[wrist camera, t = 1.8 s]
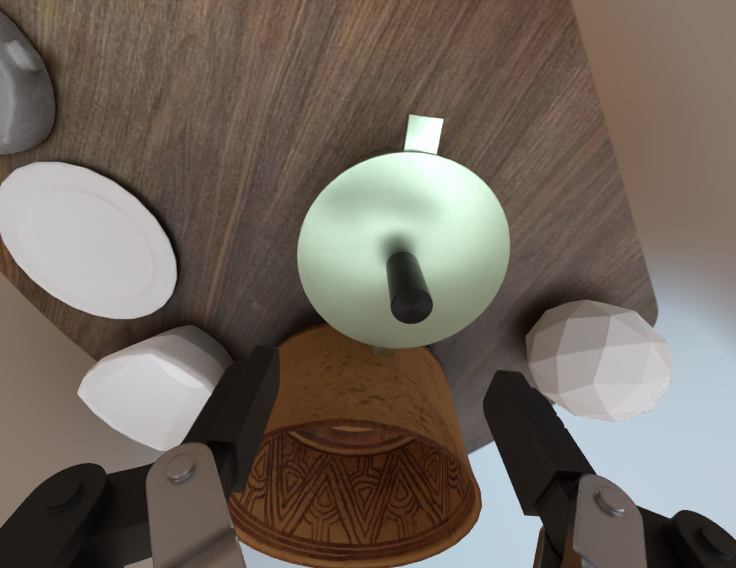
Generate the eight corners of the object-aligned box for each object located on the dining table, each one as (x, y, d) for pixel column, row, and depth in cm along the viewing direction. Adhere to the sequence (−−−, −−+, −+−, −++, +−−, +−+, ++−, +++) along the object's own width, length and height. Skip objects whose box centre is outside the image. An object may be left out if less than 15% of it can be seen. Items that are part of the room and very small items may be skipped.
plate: (-34, 174, 34) (-52, 176, 32) (133, 146, 32) (122, 147, 31) (74, 321, 44) (64, 328, 42) (207, 304, 42) (201, 311, 41)
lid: (537, 165, 21) (609, 181, 14) (471, 348, 28) (500, 410, 22) (300, 136, 20) (267, 139, 14) (299, 332, 28) (278, 392, 21)
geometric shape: (515, 308, 48) (495, 338, 36) (630, 274, 39) (654, 299, 27) (553, 390, 47) (545, 449, 35) (679, 375, 38) (727, 446, 26)
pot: (293, 432, 55) (257, 575, 38) (247, 310, 43) (160, 439, 25) (441, 421, 53) (476, 565, 36) (439, 290, 41) (491, 413, 23)
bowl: (194, 409, 53) (160, 462, 44) (109, 341, 45) (51, 388, 37) (272, 374, 48) (251, 424, 40) (193, 292, 41) (148, 333, 33)
